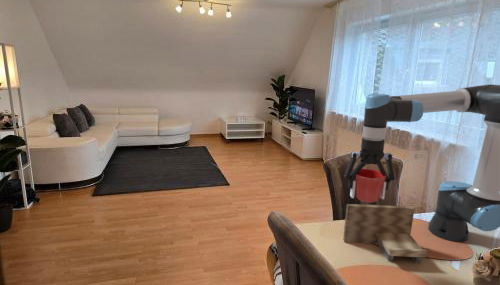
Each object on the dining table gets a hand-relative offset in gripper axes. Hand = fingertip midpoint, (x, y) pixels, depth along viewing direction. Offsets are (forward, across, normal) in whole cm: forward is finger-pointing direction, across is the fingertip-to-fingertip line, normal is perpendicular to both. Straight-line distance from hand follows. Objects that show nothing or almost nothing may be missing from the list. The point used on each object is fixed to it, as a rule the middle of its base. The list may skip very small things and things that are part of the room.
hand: (366, 197), depth 117 cm
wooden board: (+23, -9, -9) cm, 27 cm away
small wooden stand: (+23, -15, -1) cm, 28 cm away
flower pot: (+1, 0, 0) cm, 1 cm away
